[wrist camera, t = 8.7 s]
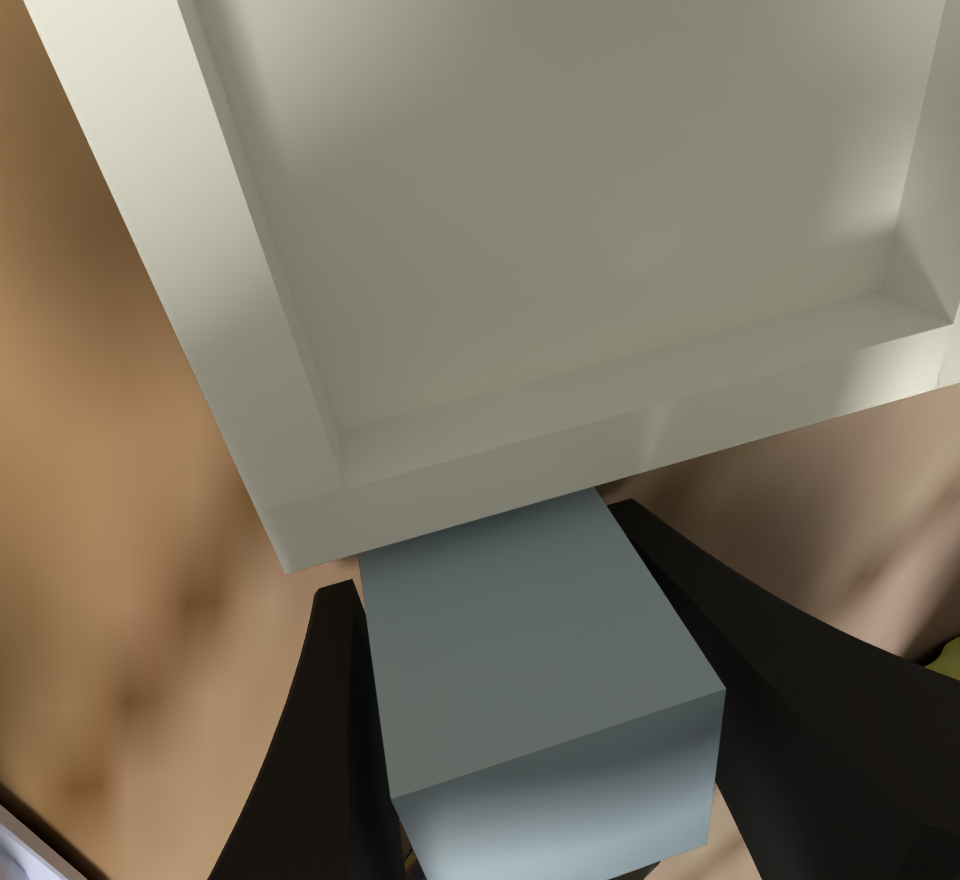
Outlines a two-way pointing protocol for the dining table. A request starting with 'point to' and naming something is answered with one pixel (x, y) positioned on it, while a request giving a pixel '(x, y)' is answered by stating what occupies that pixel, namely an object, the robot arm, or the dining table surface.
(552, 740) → the block
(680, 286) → the tray
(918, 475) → the dining table surface
